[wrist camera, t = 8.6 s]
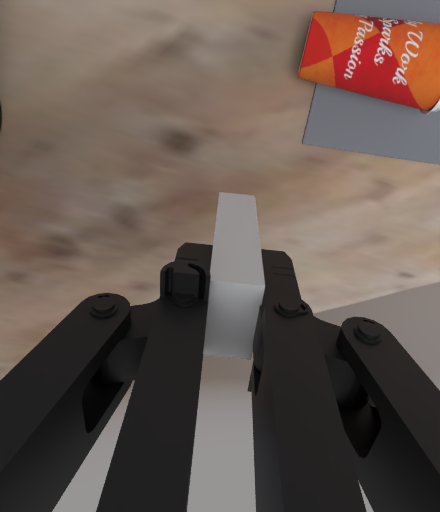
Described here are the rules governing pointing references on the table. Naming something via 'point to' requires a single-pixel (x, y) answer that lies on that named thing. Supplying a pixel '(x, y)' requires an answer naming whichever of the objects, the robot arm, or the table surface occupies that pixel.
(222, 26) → the table surface
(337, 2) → the rubber mat
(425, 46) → the paper cup
